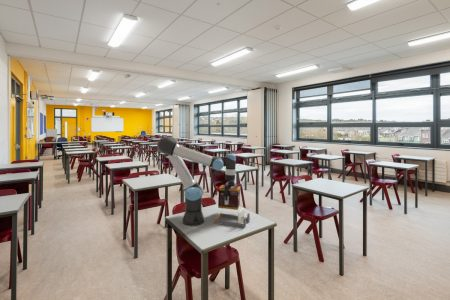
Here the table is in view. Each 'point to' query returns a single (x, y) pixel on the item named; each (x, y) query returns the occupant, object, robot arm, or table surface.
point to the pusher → (241, 216)
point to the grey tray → (231, 220)
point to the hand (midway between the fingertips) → (229, 202)
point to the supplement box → (233, 198)
